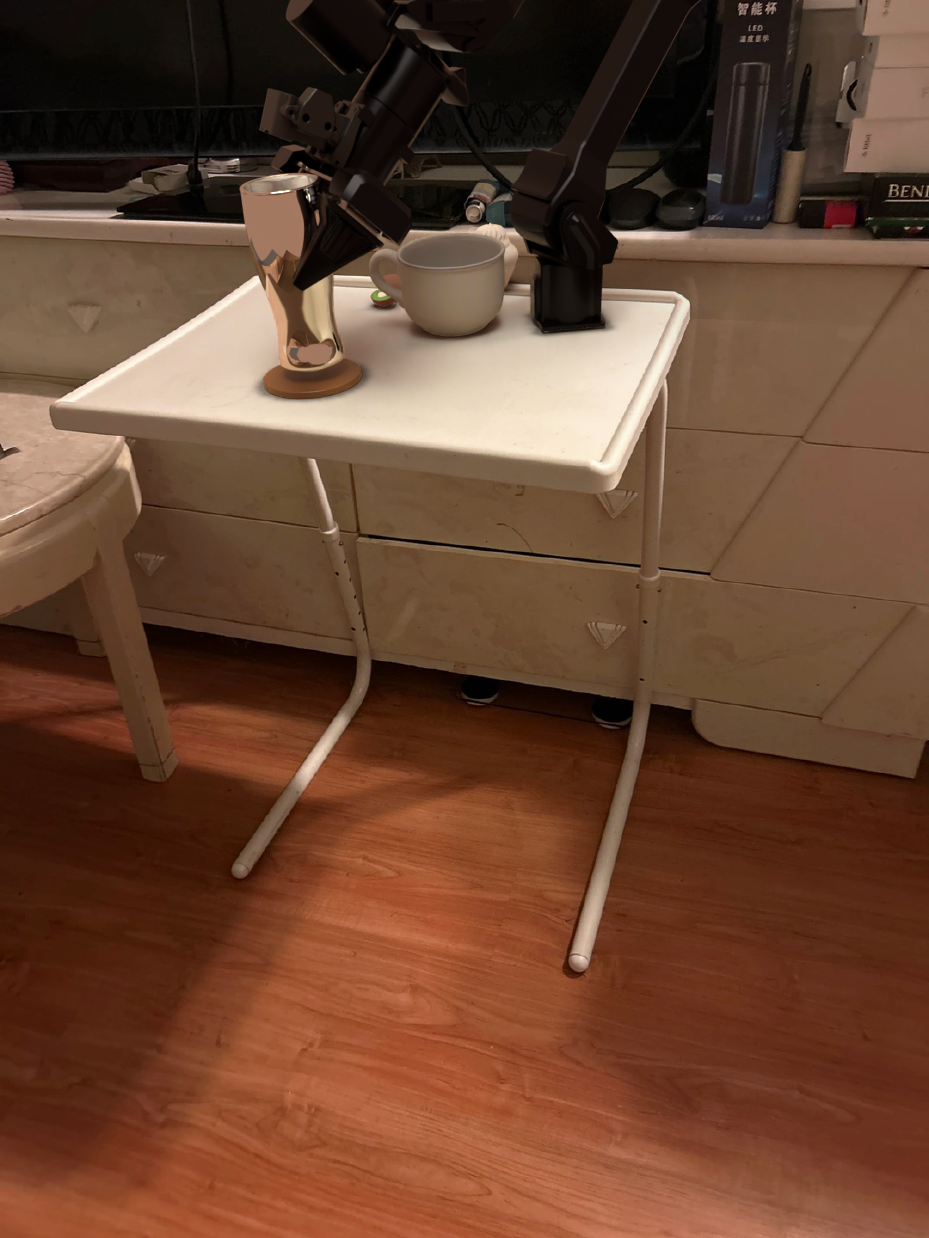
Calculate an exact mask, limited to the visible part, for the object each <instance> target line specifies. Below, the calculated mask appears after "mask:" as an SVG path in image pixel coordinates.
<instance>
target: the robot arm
mask: <svg viewBox="0 0 929 1238" xmlns="http://www.w3.org/2000/svg"><path fill="white" fill-rule="evenodd" d="M524 1H525V0H289V3H288V5H287V7H286V12H285V19H286V21H287V22H289V24H290V25H291V26H293V27H294V28H295V30H296V31H298V32H299V33H300V34H301V35H302V36H303V38H305V39H306V40H307V41H308V42H309V43H310V44H311V45H312V46H313V47H314V48H315V49H316V50H317V51H318V52H319V53H320V54H322V56H323V57H325V58H326V59H327V60H328V61H329V62H330V63H331V64H332V66H334V68H336V69H337V70H338V71H339V72H340V74H342V75H343V76H344V75H349V74H351V73H353V72H355V71H356V70H357V71H358V73H360V74H365V73H368V72H369V71H370V72H369V73H368V75H367V76H366V78H365V80H364V81H363V83H362V85H361V86H360V87H359V89H358V91H357V92H356V94H355V95H354V97H353V98H352V100H351V101H349V100H346V99H343V100H342V101H341V100H339V101H338V102H336V103H334V96H333V95H332V94H330V93H327V92H325V91H323V90H321V89H318V88H314V87H310V86H308V87H307V88H306V89H305V90H304V91H303V93H302V94H301V95H300V96H299V97H298V96H296V95H294V94H291V93H288V92H284V91H281V90H277V89H274V88H270V87H269V88H267V92H266V97H265V102H264V106H263V111H262V115H261V120H260V125H259V129H258V130H259V131H260V132H263V133H266V134H267V135H271V136H274V137H276V138H279V139H281V140H284V141H287V142H289V143H291V142H293V141H296V142H298V143H299V144H300V143H301V144H303V145H306V146H307V147H303V146H300V145H297V144H289V145H283V146H280V148H279V150H278V152H277V153H276V155H275V156H274V158H273V159H272V161H271V163H270V166H271V168H273V170H275V171H276V172H278V173H276V174H275V175H278V174H288V173H307V174H313V175H316V176H318V177H319V178H320V185H321V189H322V193H323V195H322V194H320V193H318V192H317V202H318V210H319V224H318V226H317V228H316V231H315V233H314V235H313V237H312V239H311V241H310V243H309V245H308V247H307V250H306V252H305V254H304V256H303V258H302V260H301V262H300V264H299V267H298V269H297V271H296V274H295V276H294V279H293V281H292V284H293V285H294V286H295V287H297V288H298V289H299V290H301V291H305V290H306V289H308V288H309V287H311V286H313V285H314V284H316V283H317V282H319V281H321V280H322V279H324V278H326V277H327V276H329V275H330V274H332V273H335V272H338V270H340V269H342V268H343V267H345V266H347V265H349V264H350V263H352V262H354V261H356V260H358V259H360V258H361V257H363V256H365V255H367V254H368V253H371V252H372V251H374V250H377V249H379V250H381V249H383V247H384V246H385V243H384V241H382V240H380V239H379V236H380V235H381V237H382V238H383V239H384V240H386V241H387V242H389V243H391V244H393V245H395V246H397V247H401V246H402V243H403V242H404V240H405V239H406V237H408V235H409V233H410V231H411V230H412V228H413V221H412V220H413V218H412V209H411V208H410V207H409V206H407V204H406V203H404V202H403V200H401V199H400V198H399V197H398V196H397V195H395V194H394V193H393V192H392V191H391V190H390V189H389V188H387V186H386V184H387V183H388V181H389V180H390V178H391V177H392V176H393V173H394V172H395V170H396V169H397V168H398V166H399V164H400V163H403V164H406V165H410V164H411V162H412V161H413V159H414V158H415V156H416V153H415V152H414V151H413V150H412V149H411V146H412V144H413V142H414V141H415V139H416V138H417V136H418V135H419V134H420V131H422V128H423V127H424V125H425V124H426V123H427V121H428V120H429V118H430V116H431V115H432V113H433V111H434V110H435V108H436V107H437V105H438V103H439V102H440V101H441V99H442V100H443V102H445V103H446V104H450V105H455V106H460V107H467V106H468V104H469V103H470V102H469V101H470V99H469V94H468V93H469V92H468V88H467V84H466V73H467V71H466V69H465V67H457V66H451V67H449V66H448V65H447V64H446V63H445V62H444V61H443V60H442V58H440V57H439V55H438V54H437V53H436V52H435V51H434V50H436V51H445V52H455V53H464V54H465V53H466V54H471V53H476V52H478V51H481V50H483V49H485V48H486V47H487V46H489V44H490V43H491V42H492V41H494V40H495V38H497V36H498V35H499V34H500V33H501V32H502V31H503V30H504V29H505V28H506V27H507V26H508V25H509V24H510V23H511V22H512V21H513V20H514V18H515V17H516V15H517V13H518V11H519V10H520V8H521V7H522V5H523V3H524ZM701 1H702V0H632V3H631V5H630V6H629V9H628V10H627V12H626V15H625V16H624V18H623V20H622V22H621V24H620V26H619V28H618V30H617V32H616V34H615V35H614V37H613V40H612V41H611V44H610V45H609V47H608V49H607V51H606V53H605V55H604V57H603V59H602V61H601V63H600V65H599V67H598V68H597V70H596V72H595V75H594V76H593V78H592V80H591V82H590V84H589V86H588V88H587V90H586V92H585V94H584V96H583V99H582V100H581V102H580V104H579V106H578V108H577V110H576V111H575V113H574V115H573V118H572V119H571V121H570V123H569V125H568V127H567V129H566V131H565V133H564V135H563V137H562V138H561V139H560V141H559V142H557V143H556V144H555V146H553V147H552V148H551V149H549V150H547V149H546V150H545V149H542V148H537V147H533V148H532V149H531V150H530V152H529V153H528V155H527V157H526V160H525V164H524V166H523V169H522V171H521V173H520V175H519V176H518V177H517V179H516V180H515V181H514V183H512V184H511V185H510V189H511V190H513V191H514V193H513V195H512V198H511V199H510V200H511V201H510V204H509V210H508V211H509V214H510V219H511V223H512V226H513V228H514V230H515V232H516V233H517V234H518V235H519V236H520V237H521V238H522V240H523V242H524V246H525V248H526V252H527V253H528V254H530V255H535V260H534V261H535V272H531V273H530V275H529V287H530V288H529V300H530V301H529V303H530V304H529V305H530V307H529V308H530V311H529V312H530V314H531V315H530V316H532V318H533V320H534V321H535V322H536V323H537V325H538V326H539V328H540V330H541V332H544V333H549V332H550V333H551V332H558V331H559V332H561V331H571V330H581V329H593V328H595V329H596V328H603V327H606V322H607V320H606V319H605V318H604V317H603V315H602V305H603V304H602V303H603V282H604V281H603V280H604V279H603V278H604V277H603V276H604V266H605V265H611V264H612V263H613V261H614V258H615V255H616V252H617V249H618V246H619V239H618V238H617V237H616V236H615V235H614V233H612V232H611V230H610V229H608V227H607V226H606V225H605V224H604V223H603V222H602V221H601V219H600V218H599V216H600V213H601V211H602V208H603V206H604V203H605V200H606V189H607V175H608V173H607V172H608V166H609V164H610V161H611V160H612V157H613V156H614V153H615V151H616V150H617V148H618V146H619V144H620V142H621V140H622V138H623V136H624V135H625V133H626V131H627V129H628V127H629V125H630V123H631V121H632V120H633V118H634V116H635V114H636V112H637V110H638V108H639V106H640V105H641V102H642V101H643V99H644V98H645V95H646V93H647V91H648V90H649V88H650V86H651V84H652V82H653V80H654V78H655V76H656V75H657V72H658V70H659V69H660V67H661V65H662V64H663V61H664V60H665V58H666V56H667V53H668V52H669V51H670V48H671V47H672V44H673V42H674V41H675V38H676V37H677V35H678V33H679V32H680V30H681V28H682V26H683V24H684V21H685V20H686V18H687V16H688V15H689V13H690V11H691V10H692V9H693V8H694V7H695V6H696V5H698V3H700V2H701ZM401 30H402V31H408V32H414V33H415V35H416V37H417V39H418V40H419V41H420V42H421V43H420V44H417V45H415V44H414V43H413V42H412V41H411V40H410V39H409V38H408V37H407V36H406V34H404V33H403V32H402V31H401Z"/></svg>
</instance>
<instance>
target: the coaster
mask: <svg viewBox="0 0 929 1238" xmlns="http://www.w3.org/2000/svg"><path fill="white" fill-rule="evenodd" d="M362 375H363V373H362V367H361V366H360V364H359V363H357V362H356V361H354V360H351V359H349V358H346V357H345V358H344V359H343V360H342V361H341V362H340V363H338V364H337V365H335V366H332V367H330V368H327V369H324V370H319V371H313V372H293V371H289V370H286V369H284V368H283V367H281V365H280V364H278V365H276V366H274V367H272V368H270V369H269V370H268V371H267V372H265V374H264V376H263V379H262V380H263V381H262V382H263V386H264V389H265V390H266V391H267V392H268V393H270V394H271V395H274V396H277V397H280V398H285V399H295V400H296V399H298V400H303V399H304V400H305V399H316V398H317V399H318V398H322V397H328V396H332V395H336V394H339V393H342V392H344V391H347V390H349V389H351V388H353V387H354V386H355V385H357V384H358V383H359V382H360V381H361V379H362Z"/></svg>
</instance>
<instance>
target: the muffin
mask: <svg viewBox="0 0 929 1238" xmlns="http://www.w3.org/2000/svg"><path fill="white" fill-rule="evenodd" d="M474 234H479V235H486V236H490V237H493V238H495V239H498V240H500V241H501V242H502V243H503V244H504V246H505V253H504V289H506V288H507V286H508V284H509V282H510V280H511V277H512V275H513V273H514V270H515V269H516V267H517V264H516V263H517V261H518V259H519V251H518V249H517V247H516V246H515V245H514V244H513V243H511V240H510V238H509V237H508V236H507V231H506V229H505V228H504V227H503V225H500V224H494V223H492V222H489V224H488V223H487V224H483V225H481V226H479V227H477V229H476V230H475V232H474Z"/></svg>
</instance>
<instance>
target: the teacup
mask: <svg viewBox="0 0 929 1238" xmlns="http://www.w3.org/2000/svg"><path fill="white" fill-rule="evenodd" d="M504 253H505V246H504V244H503V243H502V242H501V241H500V240H498V239H495V238H493V237H490V236H486V235H479V234H475V232H474V233H473V232H472V233H470V232H450V233H439V234H438V233H437V234H431V235H426V236H422V237H418V238H416V239H413V240H411V241H408V242H406V243H405V244H403V245H401V246H400V247H399V248H398V250H397V251H396V250H394V249H392V248H381V249H379V250H377V251H375V252H374V253H373V255H372V256H371V257H370V260H369V263H368V274H369V277H370V280H371V282H372V283H373V285H374V286H375V287H376V288H377V290H378V289H379V290H380V291H382V292H383V293H385V294H386V295H388V296H390V297H391V298H393V299H395V301H396V302H397V303H398V305H399V307H401V308H402V309H404V310H405V312H406V315H407V316H408V318H409V320H411V321H412V322H413V323H414V324H416V325H417V326H419V327H420V328H421V329H422V330H424V331H425V332H427V333H429V334H431V335H435V336H439V337H461V336H468V335H472V334H475V333H477V332H479V331H482V330H483V329H485V328H486V327H487V326H488V325H489V323H490V322H492V320H494V319H495V318H496V317H497V316H498V314H499V313H500V312H501V309H502V307H503V304H504V298H505V288H504ZM382 261H389V262H390V263H391V264H392V265H393V267H394V268H395V271H396V275H398V276H400V283H401V290H399V289H397V288H395V287H394V286H392V285H390V284H389V283H388V282H387V281H386V280H385V279H384V278H383V276H382V274H381V272H380V263H381V262H382Z"/></svg>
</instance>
